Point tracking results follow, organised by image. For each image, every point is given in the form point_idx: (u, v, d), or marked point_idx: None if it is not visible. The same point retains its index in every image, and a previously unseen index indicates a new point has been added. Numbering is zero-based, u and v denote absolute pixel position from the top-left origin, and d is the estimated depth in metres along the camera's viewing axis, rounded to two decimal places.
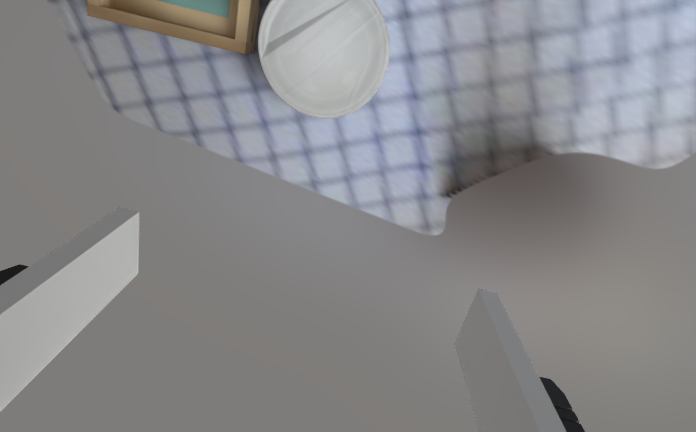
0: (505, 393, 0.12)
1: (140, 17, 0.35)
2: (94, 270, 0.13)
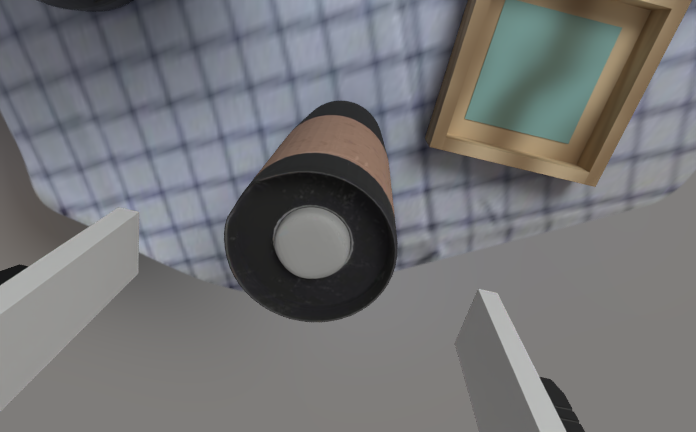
0: (505, 393, 0.12)
1: (613, 128, 0.31)
2: (94, 270, 0.13)
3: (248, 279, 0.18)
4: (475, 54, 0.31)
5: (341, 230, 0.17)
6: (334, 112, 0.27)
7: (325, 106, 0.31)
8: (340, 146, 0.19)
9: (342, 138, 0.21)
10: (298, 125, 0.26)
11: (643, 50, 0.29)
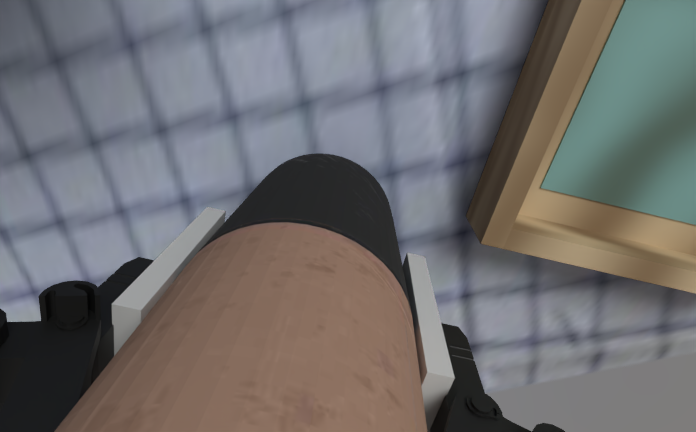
0: None
1: None
2: None
3: None
4: None
5: None
6: (294, 207, 0.12)
7: (287, 173, 0.16)
8: None
9: (278, 393, 0.06)
10: (210, 242, 0.12)
11: None
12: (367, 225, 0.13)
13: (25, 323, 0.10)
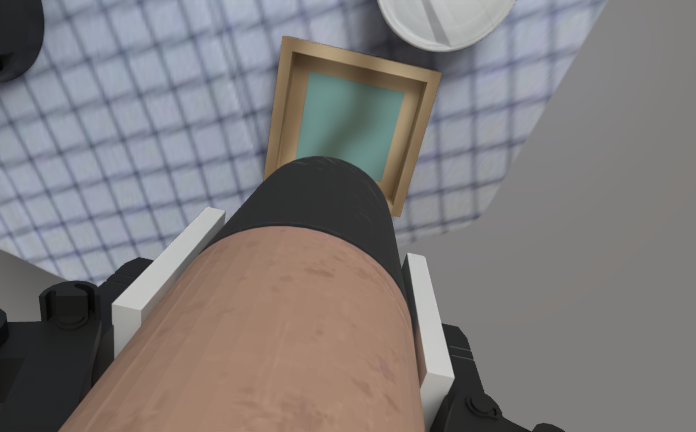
0: None
1: (403, 172, 0.38)
2: None
3: None
4: (294, 113, 0.39)
5: None
6: (293, 211, 0.12)
7: (286, 176, 0.16)
8: None
9: (277, 399, 0.06)
10: (209, 246, 0.12)
11: (417, 111, 0.37)
12: (366, 228, 0.13)
13: (25, 323, 0.10)
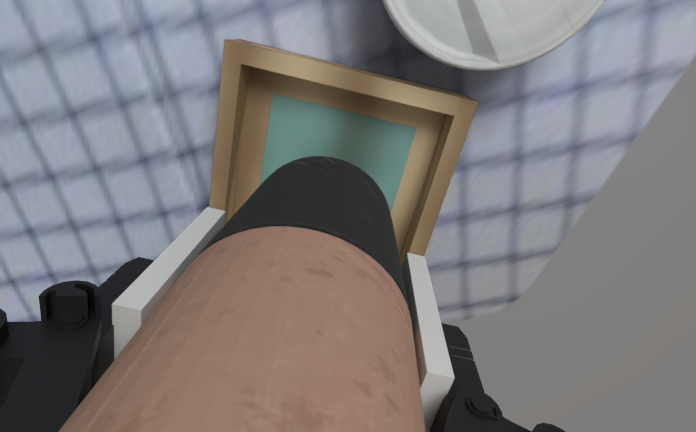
0: None
1: (412, 245, 0.26)
2: None
3: None
4: (251, 155, 0.26)
5: None
6: (293, 211, 0.12)
7: (286, 176, 0.16)
8: None
9: (277, 399, 0.06)
10: (209, 246, 0.12)
11: (436, 158, 0.24)
12: (366, 228, 0.13)
13: (25, 323, 0.10)
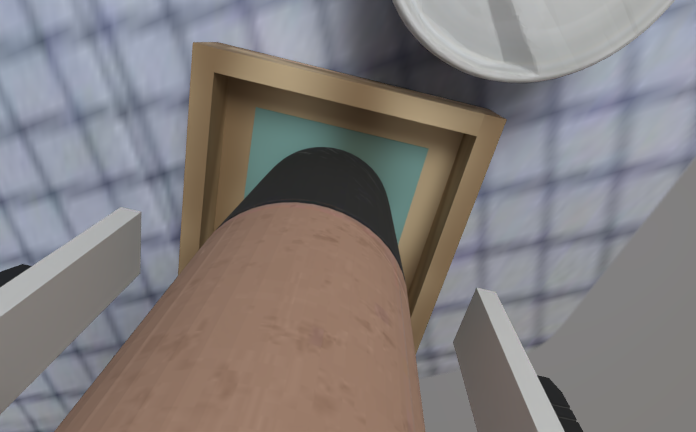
0: (503, 391, 0.12)
1: (423, 288, 0.21)
2: (97, 270, 0.13)
3: None
4: (231, 179, 0.22)
5: None
6: (300, 191, 0.14)
7: (292, 163, 0.18)
8: (278, 394, 0.06)
9: (295, 324, 0.07)
10: (226, 221, 0.13)
11: (453, 185, 0.20)
12: (366, 207, 0.14)
13: None
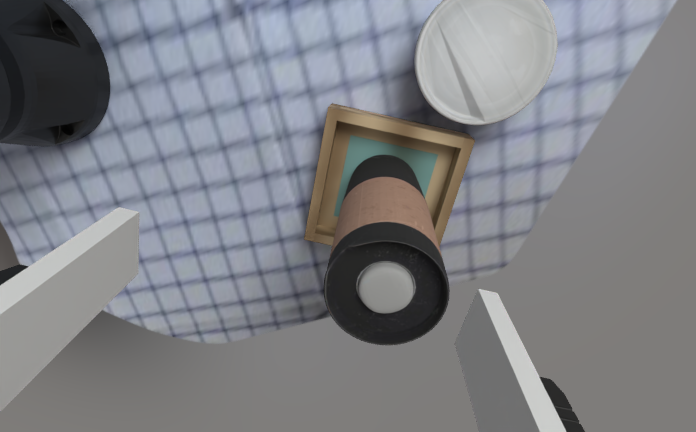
0: (505, 393, 0.12)
1: (436, 227, 0.41)
2: (94, 270, 0.13)
3: (337, 313, 0.25)
4: (334, 172, 0.42)
5: (408, 279, 0.24)
6: (385, 173, 0.34)
7: (373, 162, 0.38)
8: (402, 213, 0.26)
9: (401, 204, 0.27)
10: (357, 184, 0.33)
11: (451, 173, 0.40)
12: (411, 180, 0.34)
13: None
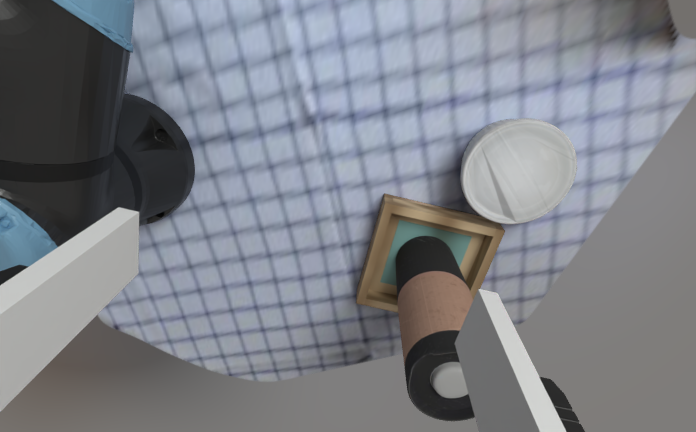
0: (505, 393, 0.12)
1: None
2: (94, 270, 0.13)
3: (414, 397, 0.33)
4: (383, 248, 0.50)
5: None
6: (436, 265, 0.41)
7: (421, 248, 0.45)
8: (463, 319, 0.34)
9: (459, 307, 0.35)
10: (415, 276, 0.41)
11: (482, 253, 0.48)
12: (456, 269, 0.42)
13: None
